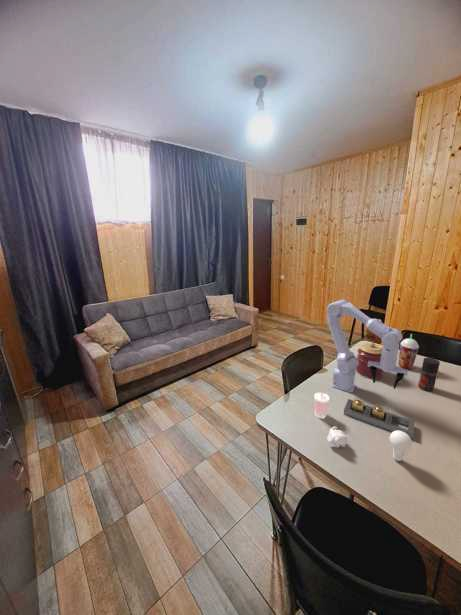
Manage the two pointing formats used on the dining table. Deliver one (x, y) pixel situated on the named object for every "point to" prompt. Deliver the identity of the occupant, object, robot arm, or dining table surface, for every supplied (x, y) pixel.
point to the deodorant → (428, 374)
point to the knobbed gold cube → (378, 412)
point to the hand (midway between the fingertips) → (384, 384)
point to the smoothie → (408, 353)
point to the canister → (368, 359)
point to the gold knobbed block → (358, 406)
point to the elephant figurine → (337, 437)
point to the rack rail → (380, 423)
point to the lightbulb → (400, 444)
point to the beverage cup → (321, 404)
